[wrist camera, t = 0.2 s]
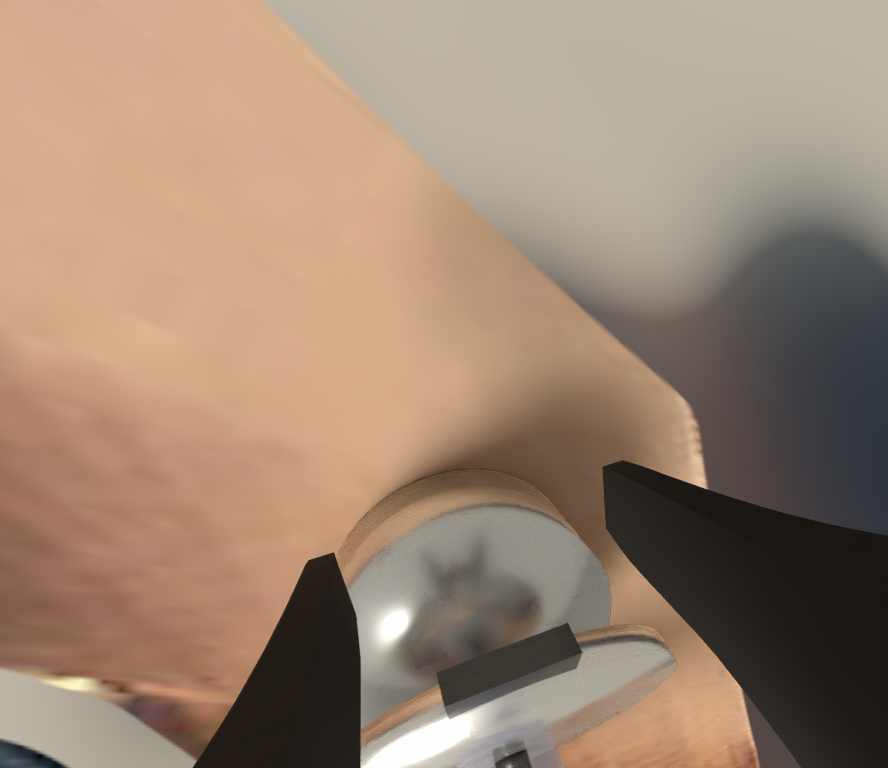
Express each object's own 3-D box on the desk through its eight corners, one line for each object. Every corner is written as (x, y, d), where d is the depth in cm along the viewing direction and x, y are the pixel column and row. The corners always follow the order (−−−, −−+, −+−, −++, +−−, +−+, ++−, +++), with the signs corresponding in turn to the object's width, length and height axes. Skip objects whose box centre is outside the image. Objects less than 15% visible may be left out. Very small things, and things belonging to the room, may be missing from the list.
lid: (622, 693, 23) (648, 742, 21) (368, 800, 21) (374, 864, 19) (719, 561, 13) (783, 635, 11) (237, 743, 11) (227, 870, 9)
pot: (574, 629, 28) (616, 697, 23) (370, 707, 25) (376, 798, 21) (555, 438, 22) (605, 482, 18) (295, 516, 20) (283, 587, 16)
